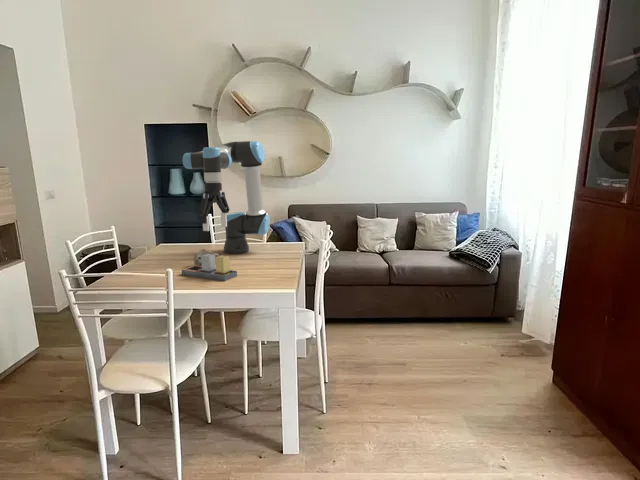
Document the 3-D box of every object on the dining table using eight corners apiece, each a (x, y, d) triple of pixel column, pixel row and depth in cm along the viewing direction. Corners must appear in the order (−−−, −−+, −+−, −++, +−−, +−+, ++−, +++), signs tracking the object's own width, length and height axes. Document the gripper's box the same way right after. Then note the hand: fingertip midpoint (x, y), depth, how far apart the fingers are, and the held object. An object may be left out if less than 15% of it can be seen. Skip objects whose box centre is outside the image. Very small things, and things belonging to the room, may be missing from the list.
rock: (190, 265, 215) (195, 247, 214) (192, 264, 221) (198, 246, 221) (213, 272, 216) (218, 254, 216) (215, 271, 222) (220, 253, 222)
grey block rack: (195, 270, 210) (194, 265, 210) (237, 276, 199) (236, 270, 199) (181, 274, 202) (181, 269, 202) (225, 281, 191) (224, 275, 191)
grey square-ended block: (208, 273, 204) (207, 253, 202) (216, 274, 202) (214, 254, 200) (202, 276, 200) (201, 255, 198) (209, 277, 198) (208, 256, 196)
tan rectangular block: (222, 275, 200) (221, 255, 198) (230, 276, 198) (229, 256, 196) (216, 278, 196) (215, 257, 194) (224, 279, 194) (223, 258, 192)
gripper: (222, 181, 203) (224, 224, 206) (187, 183, 180) (190, 232, 184) (235, 181, 200) (237, 225, 203) (202, 183, 177) (204, 233, 181)
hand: (215, 228), depth 194 cm, fingers open, 13 cm apart
